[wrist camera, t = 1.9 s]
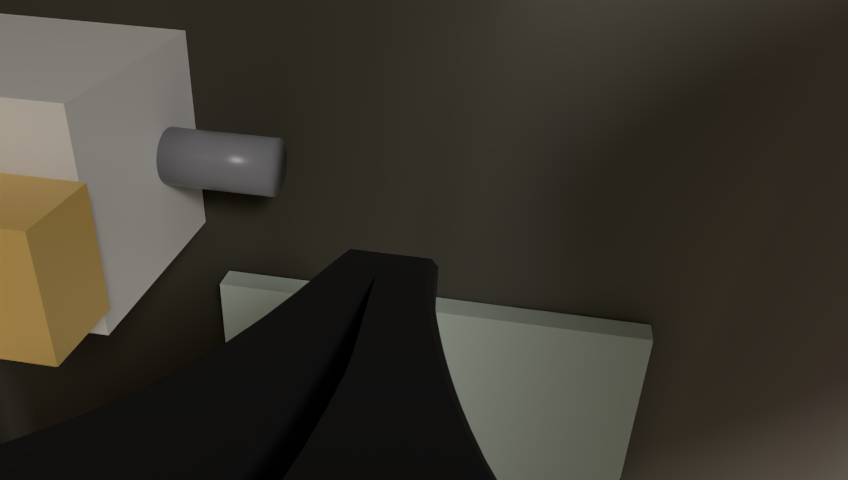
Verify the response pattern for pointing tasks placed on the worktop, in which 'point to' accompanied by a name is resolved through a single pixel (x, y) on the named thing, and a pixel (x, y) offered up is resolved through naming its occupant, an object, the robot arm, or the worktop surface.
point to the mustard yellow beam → (47, 269)
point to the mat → (516, 378)
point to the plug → (122, 140)
